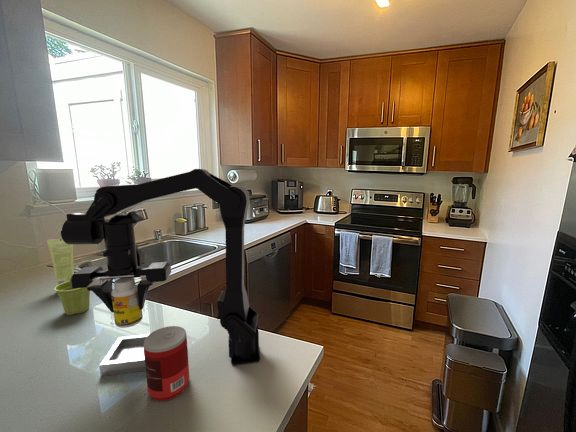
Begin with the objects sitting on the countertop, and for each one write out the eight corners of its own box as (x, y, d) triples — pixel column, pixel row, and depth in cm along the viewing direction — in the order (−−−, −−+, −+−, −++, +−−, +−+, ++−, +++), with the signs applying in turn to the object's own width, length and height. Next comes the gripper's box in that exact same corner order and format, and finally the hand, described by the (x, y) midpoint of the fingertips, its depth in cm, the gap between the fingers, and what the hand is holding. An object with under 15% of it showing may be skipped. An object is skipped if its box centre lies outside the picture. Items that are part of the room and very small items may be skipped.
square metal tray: (166, 341, 72) (166, 332, 71) (155, 369, 62) (155, 358, 61) (119, 346, 70) (118, 337, 69) (100, 376, 60) (99, 365, 59)
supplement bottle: (110, 325, 63) (104, 282, 62) (133, 314, 68) (129, 273, 66) (124, 331, 61) (118, 286, 59) (148, 319, 65) (143, 277, 64)
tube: (68, 286, 107) (61, 236, 104) (80, 287, 106) (73, 236, 103) (53, 292, 101) (46, 240, 98) (65, 293, 100) (58, 240, 97)
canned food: (194, 372, 61) (191, 325, 59) (181, 402, 53) (177, 348, 51) (158, 373, 61) (154, 325, 59) (140, 403, 53) (135, 349, 51)
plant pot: (75, 319, 83) (72, 291, 81) (49, 316, 85) (45, 289, 83) (102, 305, 92) (99, 279, 90) (78, 302, 94) (75, 277, 92)
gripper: (173, 233, 71) (178, 291, 73) (91, 237, 67) (98, 298, 70) (162, 244, 60) (168, 312, 62) (63, 249, 57) (74, 321, 59)
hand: (127, 310), depth 64 cm, fingers closed on supplement bottle, 6 cm apart
